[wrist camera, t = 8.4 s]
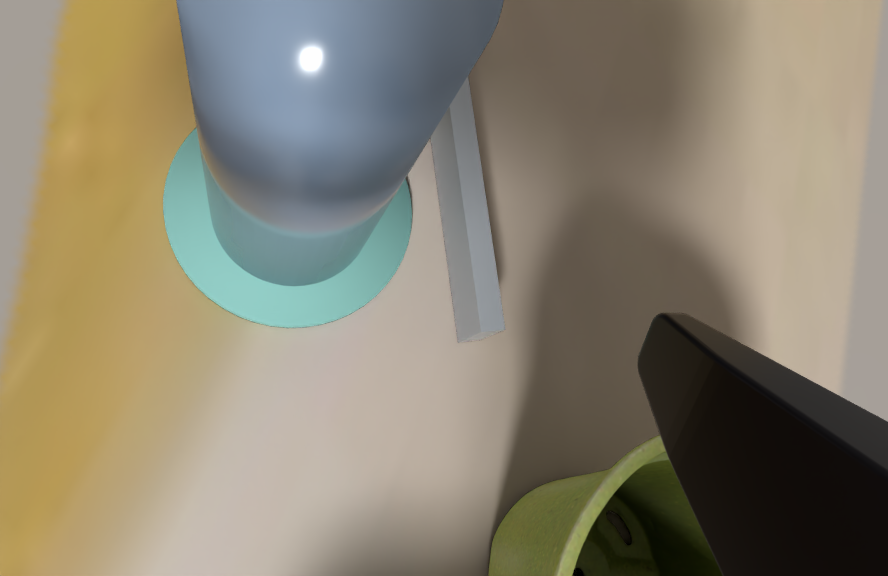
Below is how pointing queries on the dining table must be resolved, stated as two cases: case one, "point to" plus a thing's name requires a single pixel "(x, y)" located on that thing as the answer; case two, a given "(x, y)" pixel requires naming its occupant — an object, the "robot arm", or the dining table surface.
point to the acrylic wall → (466, 222)
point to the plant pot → (606, 524)
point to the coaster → (266, 299)
